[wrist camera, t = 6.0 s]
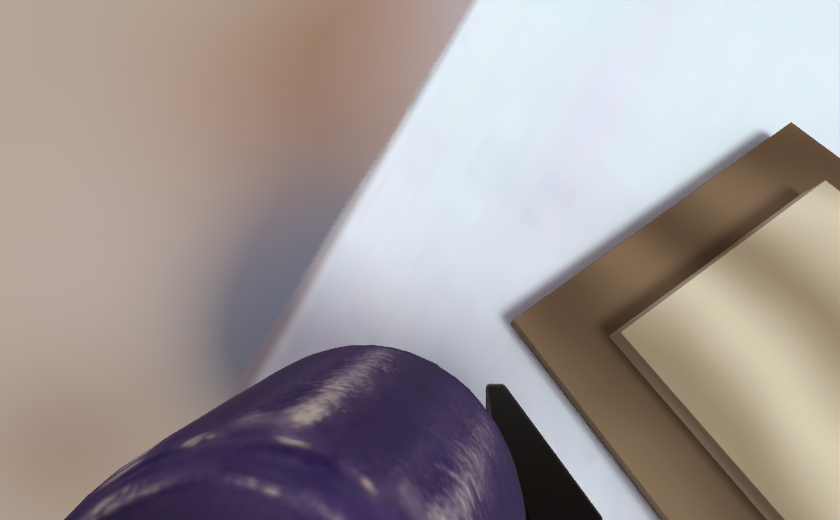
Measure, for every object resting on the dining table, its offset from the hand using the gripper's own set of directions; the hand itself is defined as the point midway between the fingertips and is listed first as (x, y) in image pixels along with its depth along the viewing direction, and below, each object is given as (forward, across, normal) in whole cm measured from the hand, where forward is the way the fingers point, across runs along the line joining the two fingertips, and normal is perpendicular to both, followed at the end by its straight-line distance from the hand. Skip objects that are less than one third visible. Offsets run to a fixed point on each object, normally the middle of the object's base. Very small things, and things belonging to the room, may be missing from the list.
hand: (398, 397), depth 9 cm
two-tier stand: (+7, -17, +6) cm, 19 cm away
